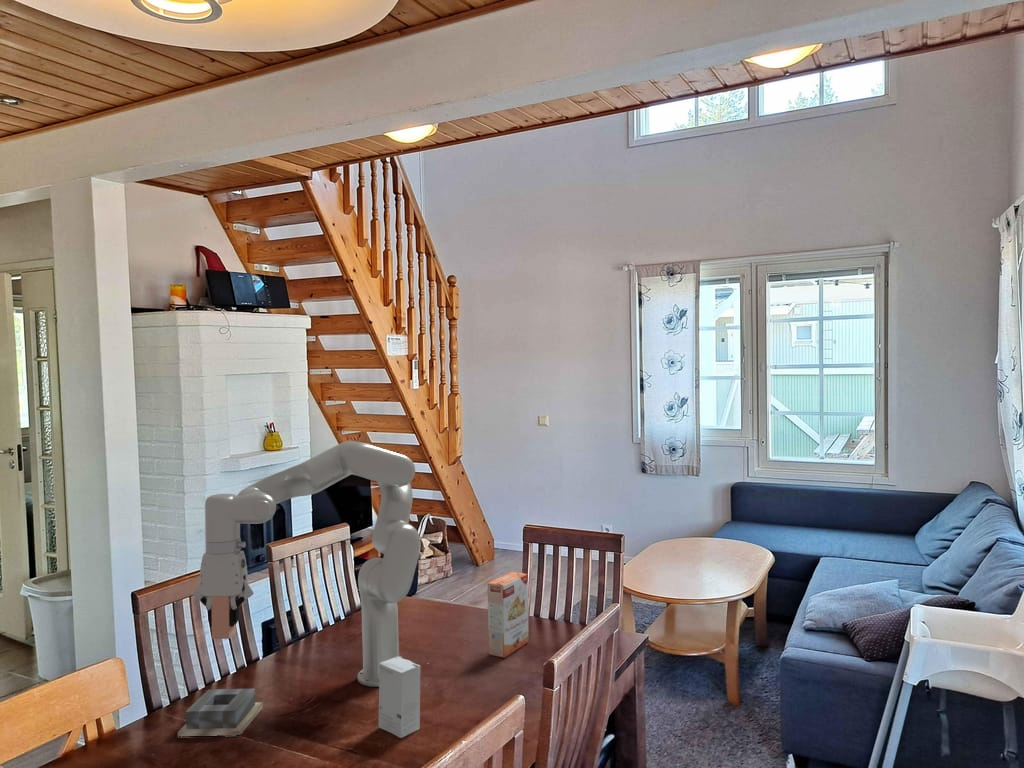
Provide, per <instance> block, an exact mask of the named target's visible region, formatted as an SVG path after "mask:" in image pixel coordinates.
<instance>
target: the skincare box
mask: <svg viewBox="0 0 1024 768" xmlns="http://www.w3.org/2000/svg"><path fill="white" fill-rule="evenodd" d="M411 661H412V660H409V659H405V658H404V657H402V658H400V657H395V658H392V659H389V660H387V661H384V662H381V663H379V664H380V672H379V687H378V728H379V729H381V730H384V731H386V732H388V733H391V734H392V735H394V736H396V737H397V738H399V739H403V738H404V737H406V736H409V735H411V734H413V733H414V732H417V731H418V730H420V726H421V725H420V721H421V720H420V719H421V665H420V664H417V663H414V662H413V661H412V662H411Z"/></svg>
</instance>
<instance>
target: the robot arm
mask: <svg viewBox="0 0 1024 768" xmlns="http://www.w3.org/2000/svg"><path fill="white" fill-rule="evenodd" d="M351 475H353V476H358V477H360V478H364V479H367V480H370V481H374V482H376V483H377V484H378V487H379V490H380V504H379V508H378V514H377V516H376V521H375V525H374V529H373V532H372V533H373V534H372V538H371V542H372V543H371V544H372V546H373V547H374V549H375V550H376V551H377V552H378V553H380V554H383V557H372V558H371V559H368V560H366V561H365V562H364V563H363V564H362V565H361V567H360V568H359V570H358V571H359V572H358V576H357V585H358V592H359V597H360V606H361V634H362V635H361V637H362V638H361V639H362V641H361V642H362V669H361V670H360V671H359V672H358V674H357V682H358V683H360V684H361V685H363V686H367V687H374V688H375V687H376V688H377V687H378V688H379V672H380V664H379V663H381V662H384V661H387V660H389V659H392V658H395V657H400V658H403V656H402V655H400V646H399V645H400V644H399V643H400V641H399V640H400V639H399V638H400V637H399V611H398V610H399V609H398V603H399V602H401V601H403V599H405V597H407V595H408V593H409V591H410V590H411V587H412V583H413V580H414V575H415V572H416V568H417V565H418V559H419V554H420V550H421V537H420V534H419V532H418V530H417V529H416V528H415V527H414V526H413V525H411V524H410V523H409V522H410V517H411V513H412V506H413V501H414V500H413V497H414V496H413V489H412V485H411V482H412V481H413V480H414V478H415V475H416V467H415V464H414V462H413V460H412V458H410V457H408V456H406V455H405V454H401V453H397V452H395V451H390V450H389V449H384V448H381V447H378V446H375V445H372V444H369V443H366V442H361V441H355V440H346V441H343V442H341V443H338V444H337V445H335V446H333V447H330V448H328V449H327V450H325V451H323V452H320V453H319V454H317V455H316V456H314V457H312V458H309V459H307V460H305V461H303V462H301V463H298V464H297V465H294V466H290V467H289V468H286V469H284V470H281V471H279V472H276V473H273V474H271V475H269V476H267V477H264V478H262V479H260V480H258V481H257V482H255V483H253V484H250V485H249V486H247V487H244V488H243V489H241V490H240V492H239V493H238V494H235V493H218V494H217V493H216V494H213V495H210V496H207V498H206V499H205V502H204V507H205V508H204V512H205V513H204V517H205V526H204V527H205V528H204V529H205V537H204V538H205V553H203V555H202V558H201V563H200V568H199V570H200V571H199V581H198V587H197V588H196V590H194V592H193V594H192V597H193V598H195V599H196V600H197V601H200V603H201V604H202V605H203V606H204V607H205V609H206V610H207V620H208V623H209V627H210V628H212V600H211V596H229V597H230V603H231V609H230V627H233V626H234V625H235V624H236V625H237V624H238V622H239V621H240V606H241V605H242V604H243V603H244V602H245V601H247V600H248V599H250V598H251V597H253V595H254V594H255V593H254V591H253V590H252V588H251V587H250V585H249V575H248V566H247V565H248V564H247V559H246V554H245V552H244V550H241V549H242V548H246V541H242V538H241V524H248V525H249V524H255V525H257V524H264V523H266V522H268V521H269V520H271V519H273V517H274V515H275V513H276V510H277V505H278V504H279V503H281V502H285V501H286V500H290V499H294V498H298V497H306V496H307V497H308V496H311V495H314V494H317V493H320V492H322V491H323V490H326V489H328V488H329V487H330V486H333V485H334V484H336V483H338V482H339V481H342V480H343V479H346V478H347V477H349V476H351ZM242 592H244V594H243V595H242V596H241V594H242ZM410 661H411V662H413V661H412V660H410Z"/></svg>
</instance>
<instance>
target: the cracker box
mask: <svg viewBox="0 0 1024 768" xmlns="http://www.w3.org/2000/svg"><path fill="white" fill-rule="evenodd" d="M528 580H529V575H528V574H527V573H523V572H515V571H511V572H509V573H507V574H505V575H503V576H501V577H498V578H496V579H493V580H491V581H489V582H487V625H488V626H487V629H488V630H487V631H488V636H487V637H488V655H489V656H494V657H498V658H503V659H505V658H506V657H508V656H510V655H511V654H513V653H514V652H516V651H517V650H519V649H522V647H524V646H526V645H527V644H529V643H528V642H529V641H530V638H529V636H530V635H529V581H528ZM525 644H526V645H525Z"/></svg>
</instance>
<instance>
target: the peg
mask: <svg viewBox="0 0 1024 768" xmlns="http://www.w3.org/2000/svg"><path fill="white" fill-rule="evenodd" d="M211 600H212V627H211V639H212V640H219V639H220V640H229V639H231V638H232V637H233V636H234V635H236V634H237V623H236V624H235V625H234V626H233V627H230V609H231V603H230V597H229V596H211Z"/></svg>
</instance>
